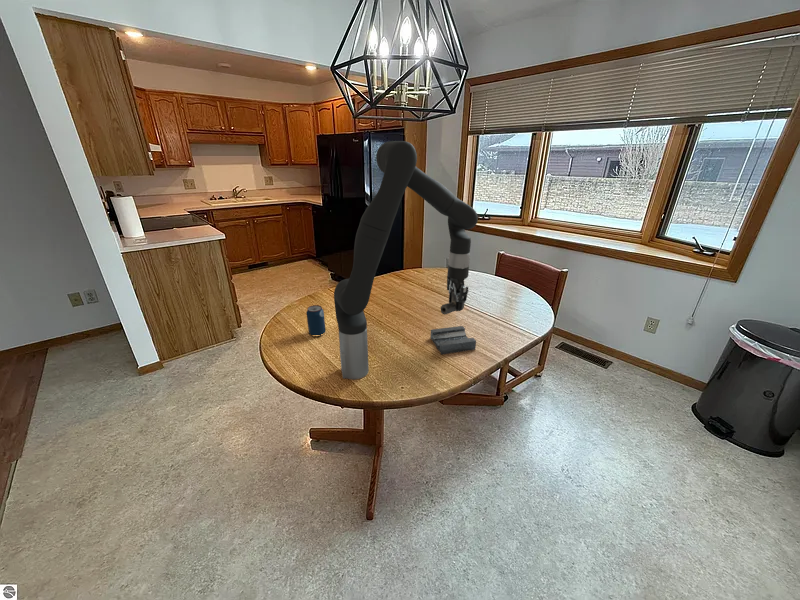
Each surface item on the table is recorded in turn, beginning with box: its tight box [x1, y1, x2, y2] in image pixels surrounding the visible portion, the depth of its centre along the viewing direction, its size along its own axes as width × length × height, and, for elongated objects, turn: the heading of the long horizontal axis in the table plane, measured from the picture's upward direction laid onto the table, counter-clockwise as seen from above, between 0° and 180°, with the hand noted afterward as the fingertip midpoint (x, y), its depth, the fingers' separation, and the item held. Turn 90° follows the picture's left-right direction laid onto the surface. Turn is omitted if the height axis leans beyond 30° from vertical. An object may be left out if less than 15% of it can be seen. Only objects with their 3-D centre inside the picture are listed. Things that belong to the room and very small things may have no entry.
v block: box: [430, 325, 477, 355], centre depth 129 cm, size 14×12×4 cm
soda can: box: [306, 304, 327, 336], centre depth 134 cm, size 7×7×12 cm
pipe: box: [440, 289, 469, 315], centre depth 121 cm, size 6×13×8 cm, turn 134°
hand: (455, 306), depth 123 cm, fingers closed on pipe, 6 cm apart
